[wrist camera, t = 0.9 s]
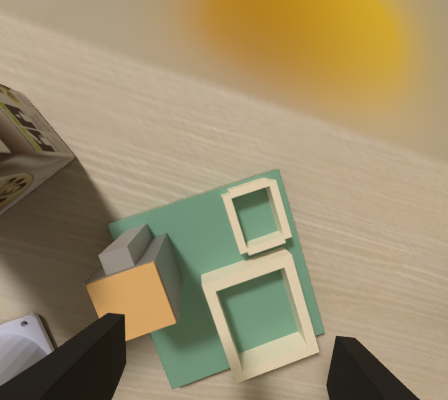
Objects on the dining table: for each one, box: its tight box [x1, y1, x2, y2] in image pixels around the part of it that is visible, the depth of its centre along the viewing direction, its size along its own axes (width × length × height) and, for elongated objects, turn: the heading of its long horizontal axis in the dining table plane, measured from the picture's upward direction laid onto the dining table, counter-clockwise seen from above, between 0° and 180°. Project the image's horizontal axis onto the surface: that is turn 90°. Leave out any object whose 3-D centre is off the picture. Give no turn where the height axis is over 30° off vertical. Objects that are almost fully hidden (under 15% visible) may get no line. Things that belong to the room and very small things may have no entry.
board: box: [108, 169, 324, 389], centre depth 21 cm, size 14×15×3 cm
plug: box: [85, 223, 183, 341], centre depth 18 cm, size 4×5×6 cm
